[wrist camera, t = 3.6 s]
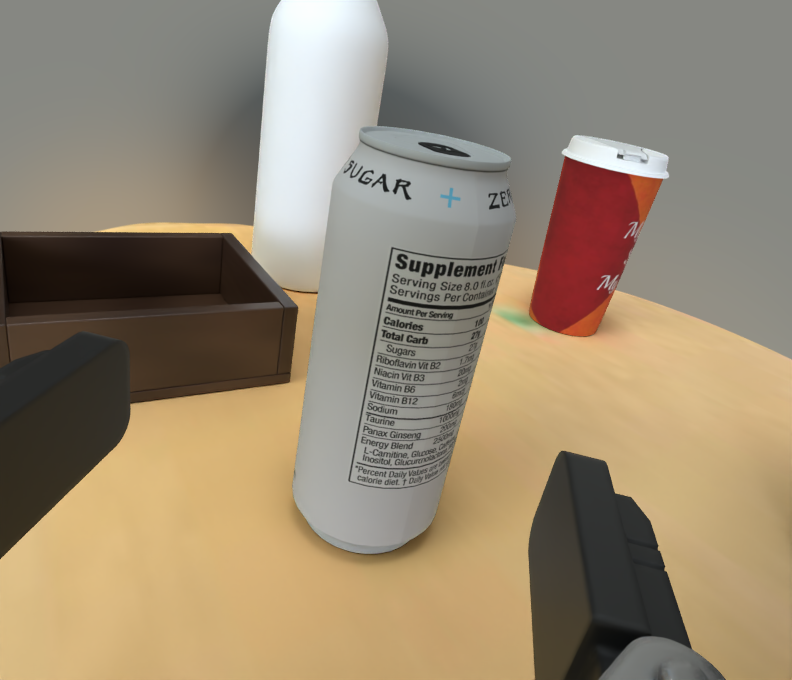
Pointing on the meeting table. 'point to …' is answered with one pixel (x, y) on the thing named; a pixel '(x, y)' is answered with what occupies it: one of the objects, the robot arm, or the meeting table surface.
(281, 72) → the bottle
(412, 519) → the energy drink can
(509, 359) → the meeting table surface
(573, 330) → the paper cup
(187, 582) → the meeting table surface
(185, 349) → the walnut box
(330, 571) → the meeting table surface
